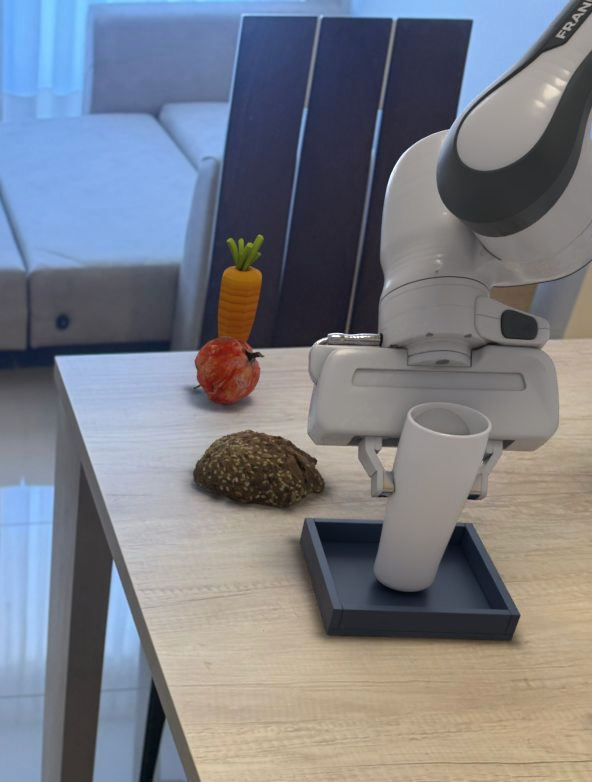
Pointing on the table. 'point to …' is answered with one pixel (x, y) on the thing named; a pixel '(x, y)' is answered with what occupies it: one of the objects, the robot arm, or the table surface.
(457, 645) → the table surface
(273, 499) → the bread roll
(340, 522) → the dark blue-gray tray
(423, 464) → the white cup
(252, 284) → the carrot
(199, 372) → the pomegranate
